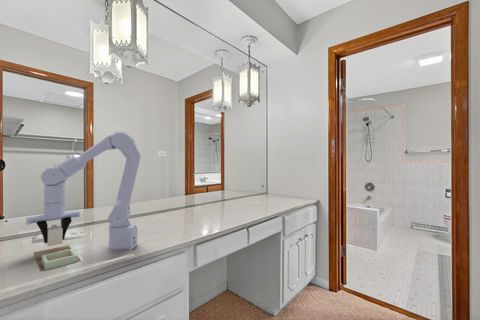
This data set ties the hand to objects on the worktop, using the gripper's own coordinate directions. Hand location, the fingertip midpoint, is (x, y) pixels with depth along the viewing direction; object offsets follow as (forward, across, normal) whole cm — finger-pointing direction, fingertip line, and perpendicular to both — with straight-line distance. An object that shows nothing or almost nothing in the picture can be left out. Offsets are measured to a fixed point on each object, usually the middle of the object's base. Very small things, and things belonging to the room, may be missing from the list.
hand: (54, 240), depth 81 cm
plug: (+1, 0, 0) cm, 1 cm away
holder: (+5, 0, +11) cm, 12 cm away
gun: (+6, -5, -17) cm, 19 cm away
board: (+5, 0, +5) cm, 7 cm away
